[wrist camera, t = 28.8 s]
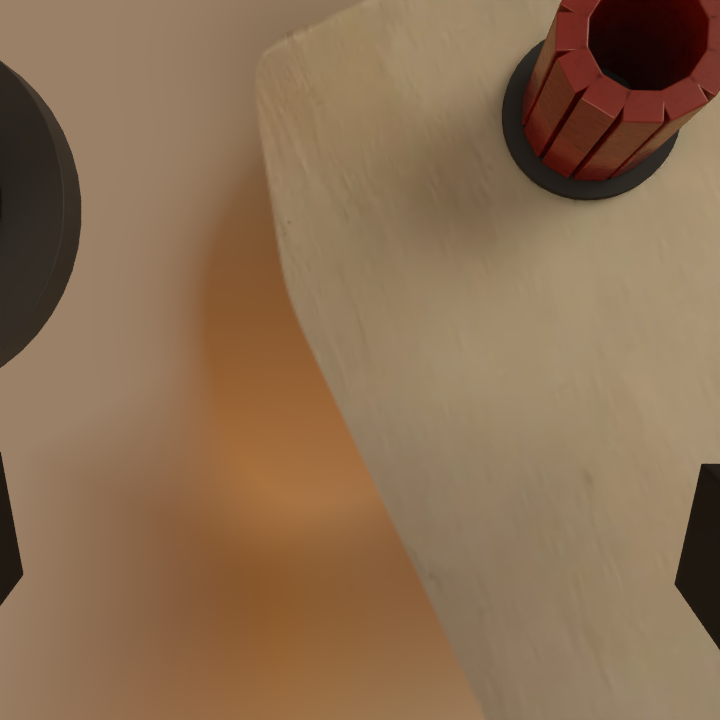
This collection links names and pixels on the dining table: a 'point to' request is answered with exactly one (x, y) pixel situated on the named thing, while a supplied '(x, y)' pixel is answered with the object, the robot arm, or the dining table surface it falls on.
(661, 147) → the mat
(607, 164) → the ring
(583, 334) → the dining table surface
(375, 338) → the dining table surface
